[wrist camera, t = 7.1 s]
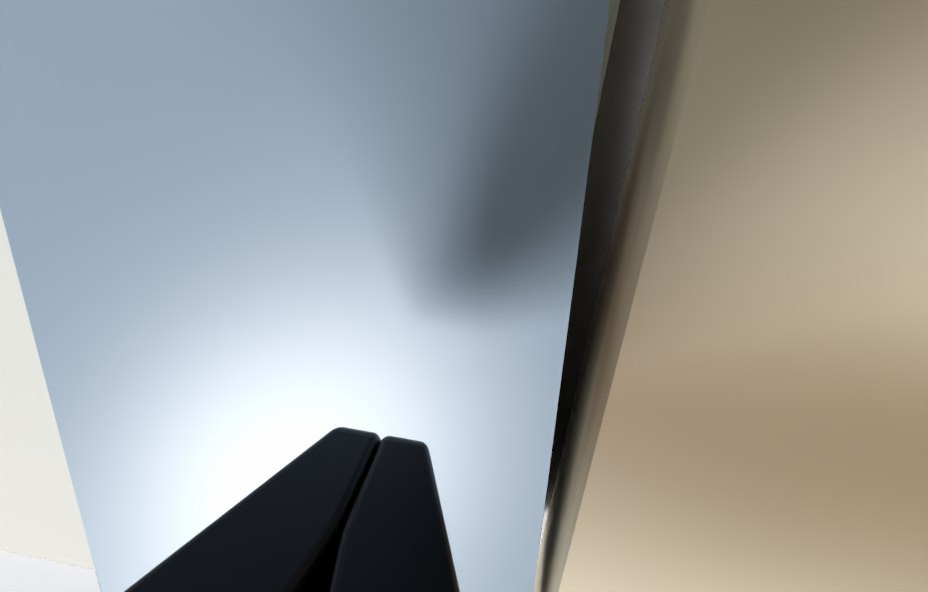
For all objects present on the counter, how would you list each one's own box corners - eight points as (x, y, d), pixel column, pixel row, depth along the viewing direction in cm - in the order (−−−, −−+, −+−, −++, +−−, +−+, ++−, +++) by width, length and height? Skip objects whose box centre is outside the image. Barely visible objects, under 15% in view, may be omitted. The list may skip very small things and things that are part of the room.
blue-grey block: (535, 548, 13) (524, 661, 11) (166, 494, 13) (101, 593, 12) (615, -94, 8) (619, -70, 6) (48, -129, 9) (-86, -117, 7)
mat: (491, 629, 14) (489, 649, 14) (-247, 481, 15) (-266, 496, 15) (697, -394, 7) (702, -404, 7) (-710, -552, 8) (-769, -568, 8)
